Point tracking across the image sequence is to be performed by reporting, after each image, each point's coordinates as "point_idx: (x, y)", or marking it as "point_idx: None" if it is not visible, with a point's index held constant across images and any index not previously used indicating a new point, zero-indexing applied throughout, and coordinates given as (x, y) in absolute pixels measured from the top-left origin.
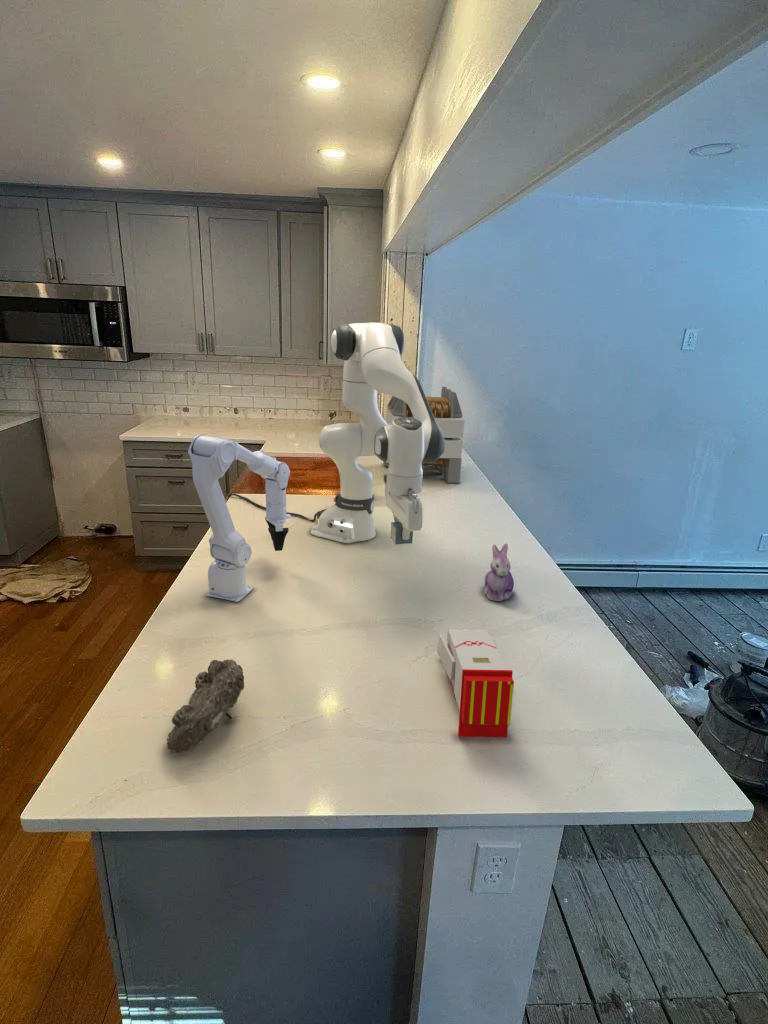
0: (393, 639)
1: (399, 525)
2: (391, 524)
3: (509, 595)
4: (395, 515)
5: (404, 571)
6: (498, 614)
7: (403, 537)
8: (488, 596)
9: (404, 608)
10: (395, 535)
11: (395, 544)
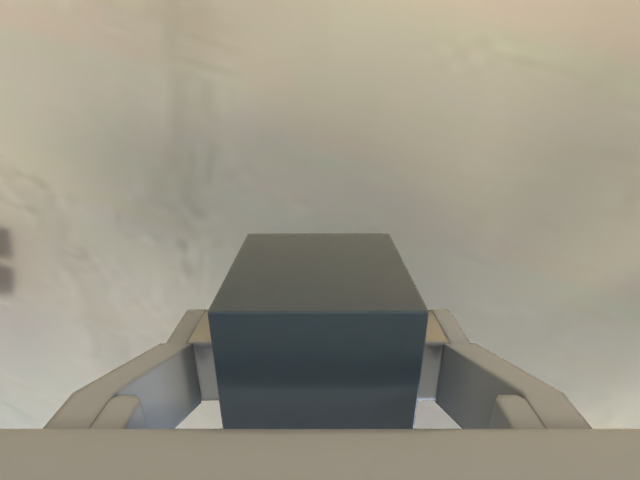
0: (81, 93)
1: (302, 372)
2: (401, 300)
3: None
4: (357, 445)
5: (518, 267)
6: (206, 408)
7: (184, 322)
8: None
9: (272, 189)
10: (235, 267)
11: (247, 235)
